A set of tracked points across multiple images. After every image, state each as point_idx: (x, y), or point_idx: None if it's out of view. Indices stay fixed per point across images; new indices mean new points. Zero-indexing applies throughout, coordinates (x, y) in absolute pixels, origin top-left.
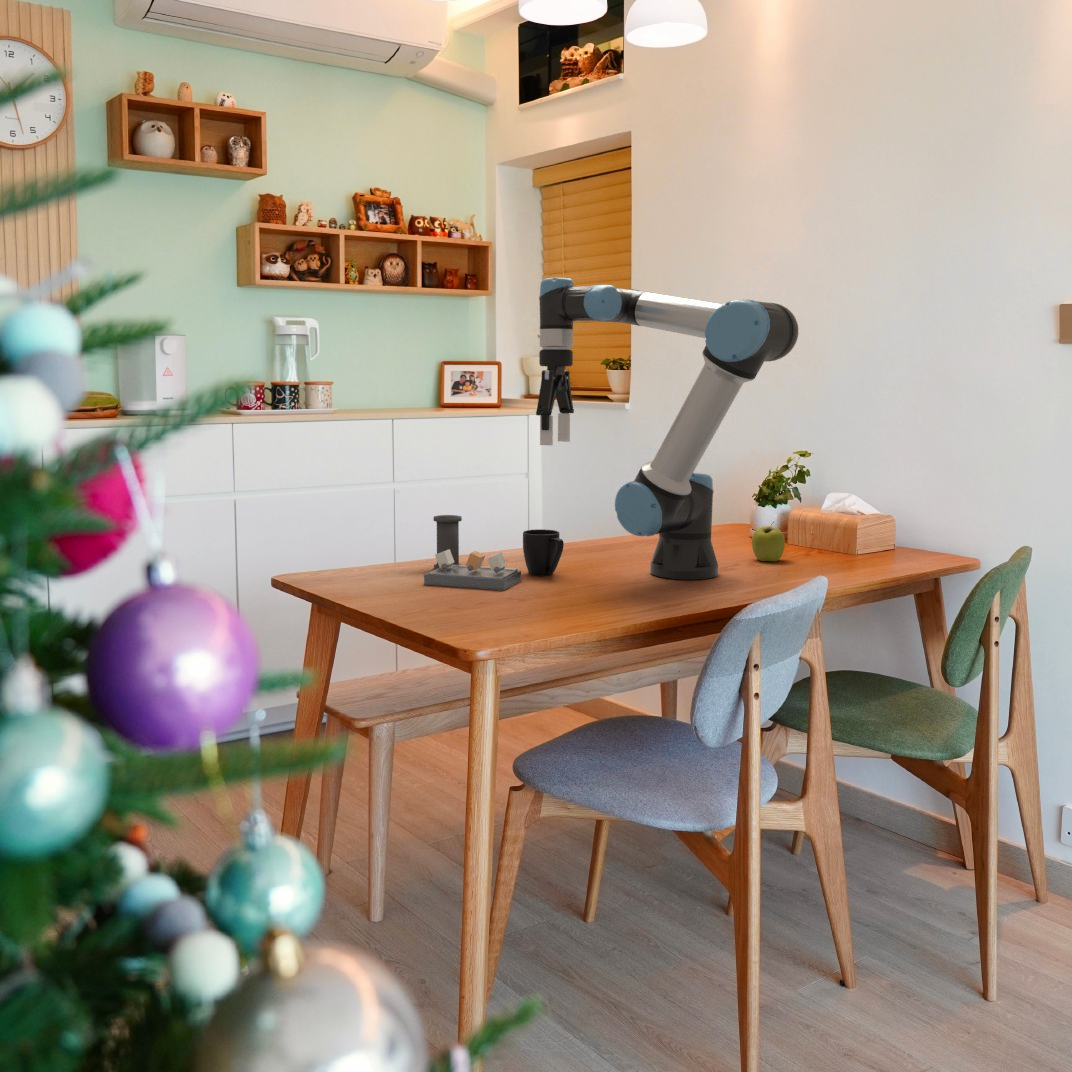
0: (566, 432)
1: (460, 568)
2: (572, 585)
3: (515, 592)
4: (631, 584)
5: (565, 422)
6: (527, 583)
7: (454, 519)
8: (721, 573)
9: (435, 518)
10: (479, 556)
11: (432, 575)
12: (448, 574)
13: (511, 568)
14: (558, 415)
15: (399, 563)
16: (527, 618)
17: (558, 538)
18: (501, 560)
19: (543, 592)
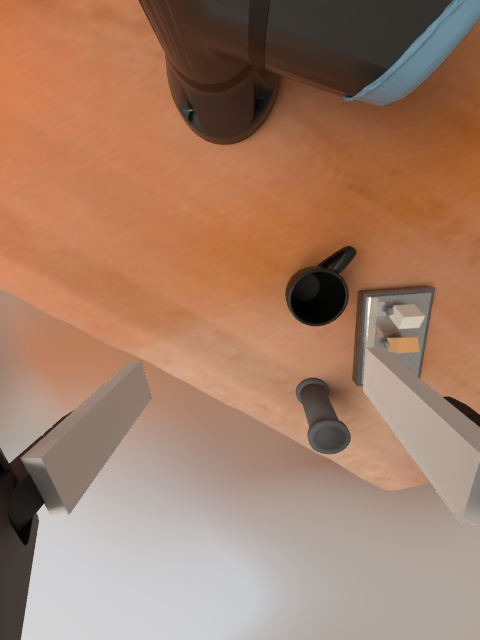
0: (124, 390)
1: None
2: (368, 217)
3: (432, 268)
4: (336, 136)
5: (95, 429)
6: (371, 277)
7: (342, 424)
8: None
9: (345, 446)
10: (413, 339)
11: (419, 374)
12: (420, 358)
13: (371, 304)
14: (78, 498)
15: (301, 441)
16: None
17: (347, 256)
18: (410, 310)
19: (425, 235)
